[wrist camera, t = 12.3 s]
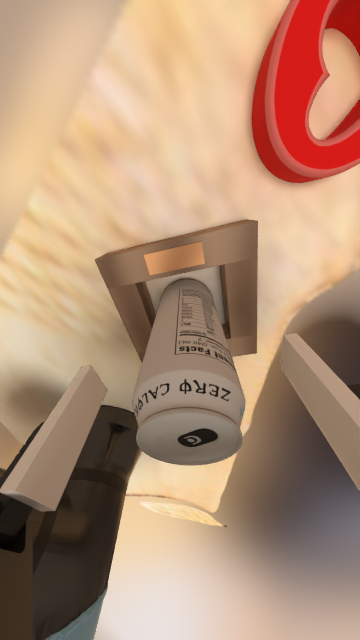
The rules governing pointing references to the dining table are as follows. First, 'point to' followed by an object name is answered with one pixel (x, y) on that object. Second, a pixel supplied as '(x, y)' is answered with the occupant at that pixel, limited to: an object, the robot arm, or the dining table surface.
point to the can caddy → (180, 257)
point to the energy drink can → (188, 382)
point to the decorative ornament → (303, 94)
